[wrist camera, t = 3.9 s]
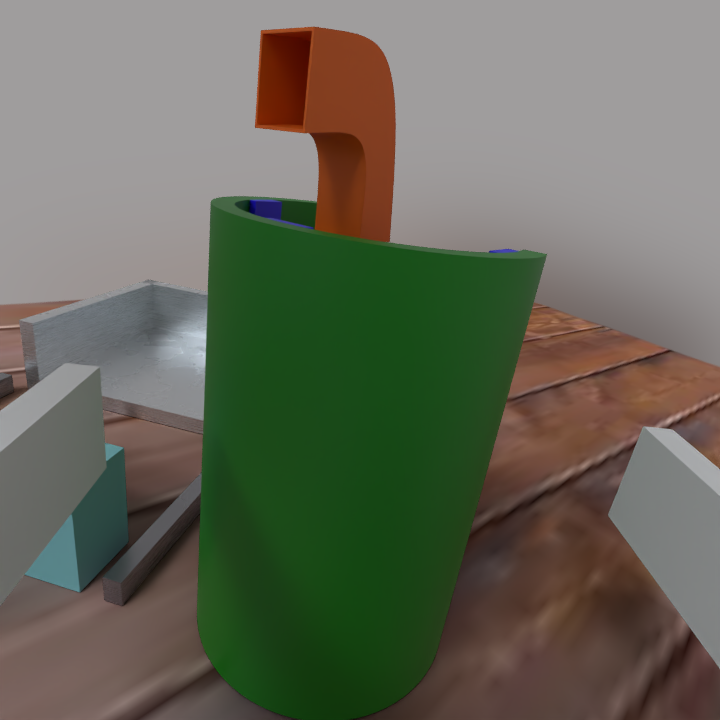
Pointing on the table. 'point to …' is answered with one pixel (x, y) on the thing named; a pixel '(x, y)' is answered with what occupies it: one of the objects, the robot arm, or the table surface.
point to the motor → (342, 405)
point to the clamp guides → (143, 536)
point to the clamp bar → (89, 531)
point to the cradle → (130, 349)
